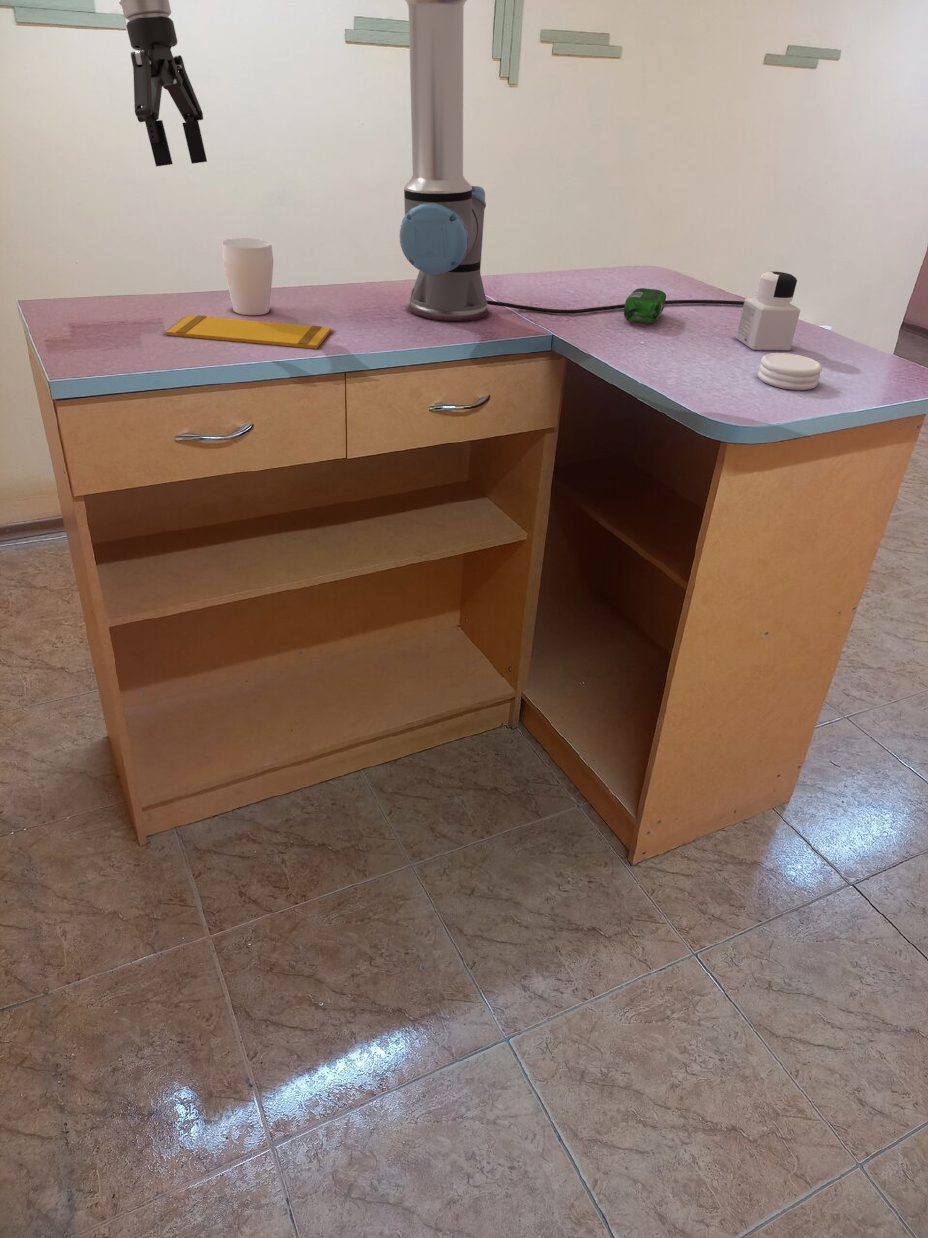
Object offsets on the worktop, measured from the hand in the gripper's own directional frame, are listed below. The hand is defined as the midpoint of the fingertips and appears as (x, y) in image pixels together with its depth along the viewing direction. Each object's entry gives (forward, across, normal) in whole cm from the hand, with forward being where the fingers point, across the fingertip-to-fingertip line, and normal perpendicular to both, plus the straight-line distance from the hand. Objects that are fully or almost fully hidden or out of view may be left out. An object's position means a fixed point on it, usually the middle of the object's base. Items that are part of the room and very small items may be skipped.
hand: (182, 164), depth 156 cm
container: (+43, -19, +100) cm, 111 cm away
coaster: (+45, +3, +102) cm, 111 cm away
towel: (+27, +11, +11) cm, 32 cm away
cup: (+26, -2, +6) cm, 26 cm away
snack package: (+38, -28, +78) cm, 91 cm away
